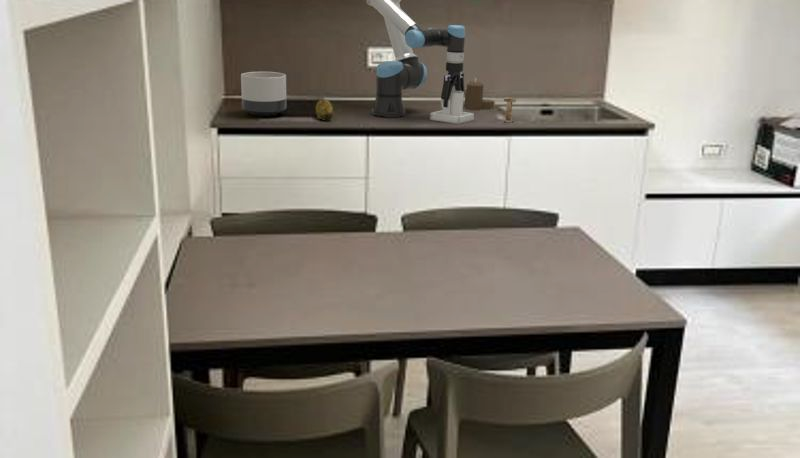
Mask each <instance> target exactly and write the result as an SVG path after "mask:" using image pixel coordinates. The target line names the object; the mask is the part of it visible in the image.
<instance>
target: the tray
mask: <svg viewBox="0 0 800 458" xmlns="http://www.w3.org/2000/svg"><path fill="white" fill-rule="evenodd" d="M474 117H475V113H473V112H466V111H462V116H460V117H456V116H449V115H445V114H443V110H442V109H440V110H438V111H432V112H430V113H429V120H430V121H435V122H436V121H437V122H442V123H447V124H455V125H462V124H465V123H469V122H471V121H474V120H475V119H474Z"/></svg>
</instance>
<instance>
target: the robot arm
mask: <svg viewBox="0 0 800 458" xmlns="http://www.w3.org/2000/svg"><path fill="white" fill-rule="evenodd" d="M401 1H402V0H363V2H365V3H366V4H367V5H368V6H369V7H370V6H371V7H373V8H374V9H375V10H377V12H378V13H379V14H380V15H382V17H383V19H384V23H385V26H386V30H387V33H388V37H389V41H390V45H391V48H392V51H393V55H394V58H395V60H391V61H389V60H388V61H382V62H380V63H378V64H377V67H376V72H375V73H376V74H375V76H376V78H375V79H376V80H375V81H376V82H375V83H376V85H375V87H376V88H375V100H374V102H373V104H372V105H373V106H372V108H371V115H372V114H373V115H372V116H374V115H378V116H377V117H379V116H387V117H386V118H401V117H400V116H402V117H404V115H405V116H406V109H405V105H404V102H403V97H402V96H403V90H404V91H406V90H414V89H417V88H418V89H419V88H421V87H422V86H423V85H424V84H425V83H426V80H427V78H428V70H427V66H426V65H425V64H424V63H422V62H421V61H420V60H419V56H418V55H416V54H415V53H414V51H413V49H420V48H428V47H441V48H442V47H444V48H446V59H445V60H446V63H445V71H446V72H447V75H444V76H443V84H442V89H441V96H440V100H441V99H443V105H444V108H443V114H445V115H449V112H450V100H449V98H450V94H451V91H453V88H454V89H455V90H454V91H462V92H464V95H465V80H464V77H465V73H463V71H464V63H463V62H464V59H465V43H466V42H465V41H466V27H465V26H464V25H460V24H459V25H458V24H453V25H452V24H449V25H448V26H447V28H446V29H445V28H440V27H439V28H437V27H429V28H424V29H423V28H422V27H420V25H419V24H418V23H416V22H415V21H414V20H413V18H411V17H410V16H409V15H408V14H407V13H406V12H405V11H404V10H403V9H402V8H401V5H400V3H401Z"/></svg>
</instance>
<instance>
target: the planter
mask: <svg viewBox="0 0 800 458" xmlns="http://www.w3.org/2000/svg"><path fill="white" fill-rule="evenodd" d="M240 83H241V84H240V85H241V109H242V110H244V111H246V112H247V111H248V113H250V114H251V115H253V116H256V117H261V116H268V117H272V116H271V115H273V116H275V115H278V114H280V113H281V112H282V111H285V110H287V74H285V73H282V72H278V71H277V72H275V71H249V72H244V73H243V72H242V73H241V74H240Z"/></svg>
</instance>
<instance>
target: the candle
mask: <svg viewBox="0 0 800 458" xmlns="http://www.w3.org/2000/svg"><path fill="white" fill-rule="evenodd" d="M464 90H465V89H464ZM483 97H484V84H483V83H482V82H481V81H478V80H477V77H475V78H474V81H473V80H472V81H470V82H468V83H467V84H466V90H465V94H464V107H465V106H466V107H465V109H466V110H469V111H481V110H492V109H491V108H493V109H494V104H495V101H494V100H492V99H487V98H485V99H484V98H483ZM480 109H481V110H480Z"/></svg>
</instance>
